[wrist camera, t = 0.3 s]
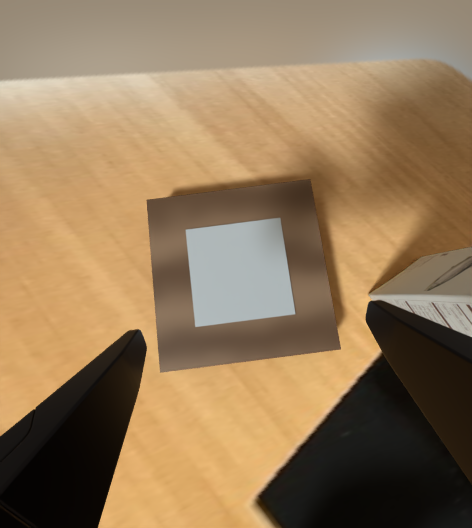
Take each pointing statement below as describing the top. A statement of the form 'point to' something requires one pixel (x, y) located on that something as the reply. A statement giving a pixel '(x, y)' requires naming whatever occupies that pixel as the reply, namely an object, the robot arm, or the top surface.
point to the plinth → (239, 276)
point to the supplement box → (435, 289)
